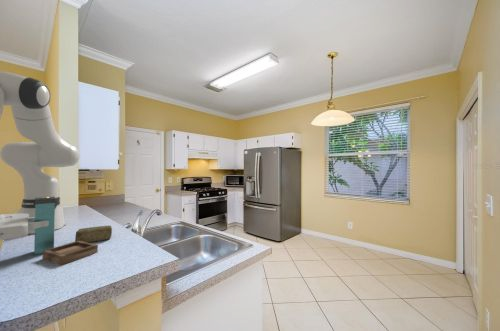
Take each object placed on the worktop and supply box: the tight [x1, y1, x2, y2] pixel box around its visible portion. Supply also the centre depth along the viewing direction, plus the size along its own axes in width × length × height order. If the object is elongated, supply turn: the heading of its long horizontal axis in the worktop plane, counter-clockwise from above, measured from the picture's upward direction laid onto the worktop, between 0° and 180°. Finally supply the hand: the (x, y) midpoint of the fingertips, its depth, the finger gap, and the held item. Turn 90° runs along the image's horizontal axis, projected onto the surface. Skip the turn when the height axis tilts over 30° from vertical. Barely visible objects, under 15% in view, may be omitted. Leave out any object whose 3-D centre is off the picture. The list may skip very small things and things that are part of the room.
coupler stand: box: [42, 241, 99, 266], centre depth 68 cm, size 10×10×2 cm
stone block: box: [74, 225, 113, 243], centre depth 82 cm, size 6×12×5 cm, turn 123°
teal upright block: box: [33, 197, 55, 256], centre depth 71 cm, size 5×5×18 cm
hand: (48, 221), depth 72 cm, fingers closed on teal upright block, 5 cm apart
